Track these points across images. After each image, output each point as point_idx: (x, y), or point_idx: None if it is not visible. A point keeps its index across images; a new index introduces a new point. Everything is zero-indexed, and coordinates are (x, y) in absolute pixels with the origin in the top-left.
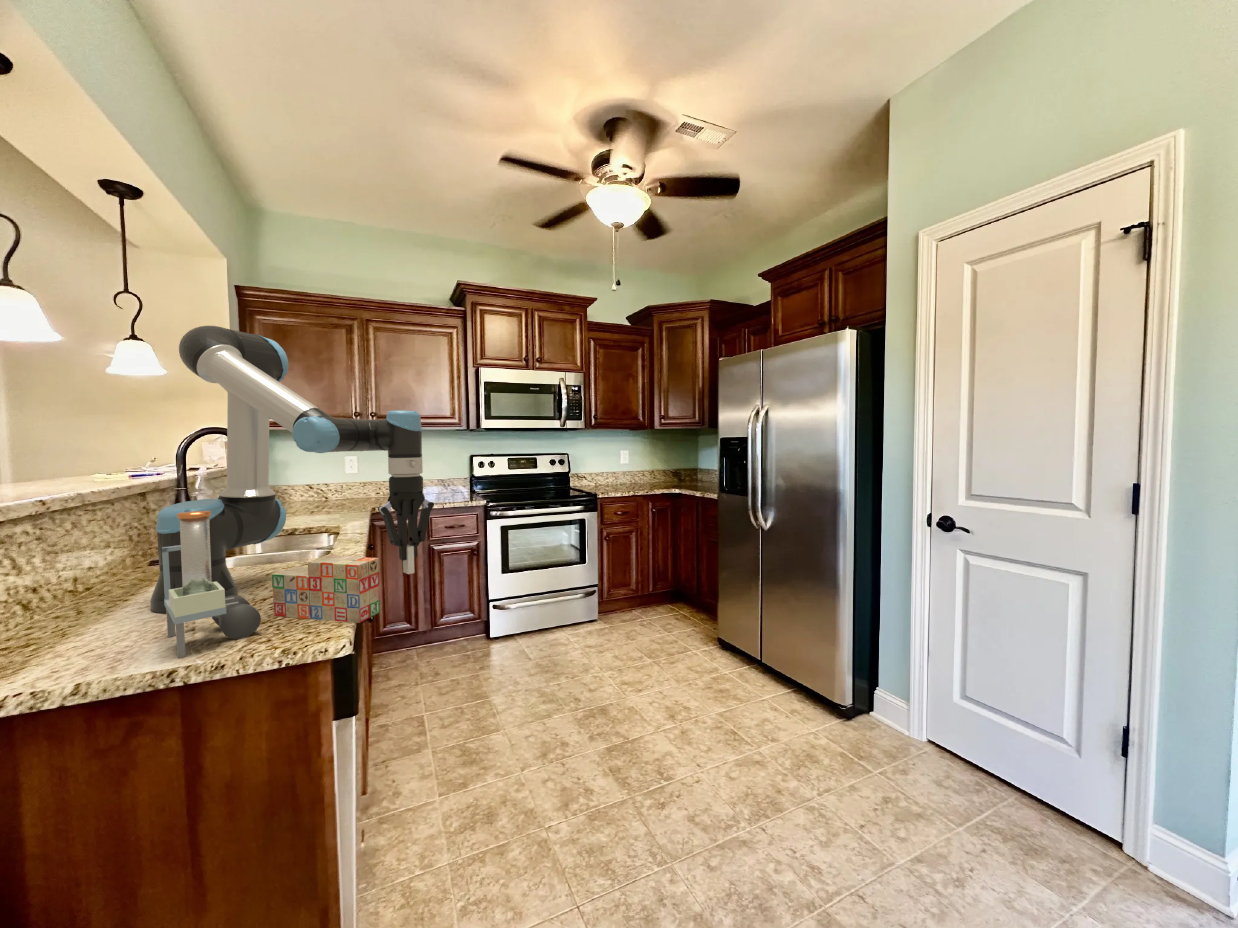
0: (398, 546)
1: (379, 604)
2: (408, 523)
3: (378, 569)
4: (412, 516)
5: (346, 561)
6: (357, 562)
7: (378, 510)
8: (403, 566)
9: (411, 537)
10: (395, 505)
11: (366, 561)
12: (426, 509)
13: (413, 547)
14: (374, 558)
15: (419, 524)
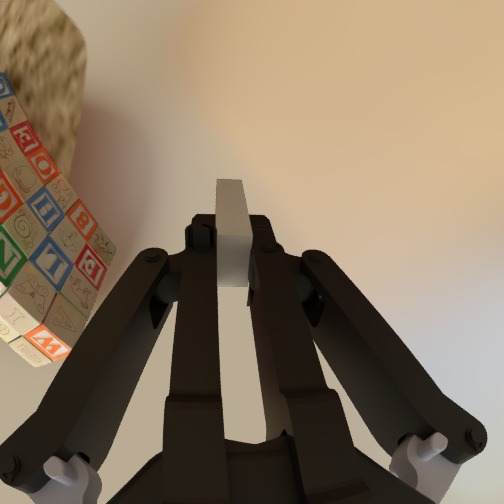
0: (182, 254)
1: (111, 260)
2: (269, 349)
3: (84, 326)
4: (267, 440)
5: (2, 326)
6: (29, 351)
7: (2, 449)
8: (216, 190)
9: (253, 301)
10: None
11: (48, 359)
12: (387, 450)
13: (245, 283)
14: (65, 347)
15: (346, 334)
